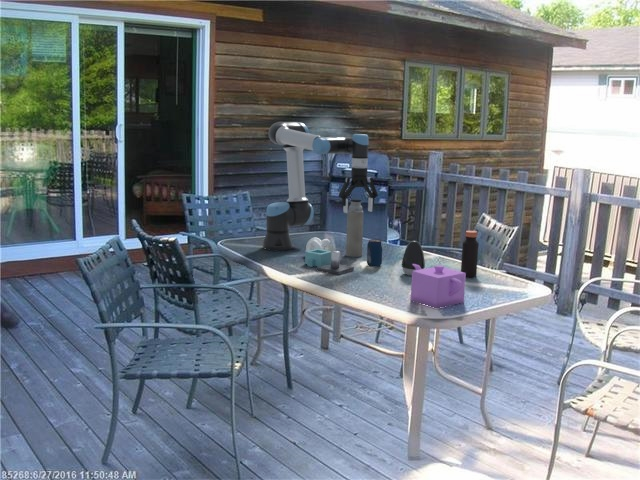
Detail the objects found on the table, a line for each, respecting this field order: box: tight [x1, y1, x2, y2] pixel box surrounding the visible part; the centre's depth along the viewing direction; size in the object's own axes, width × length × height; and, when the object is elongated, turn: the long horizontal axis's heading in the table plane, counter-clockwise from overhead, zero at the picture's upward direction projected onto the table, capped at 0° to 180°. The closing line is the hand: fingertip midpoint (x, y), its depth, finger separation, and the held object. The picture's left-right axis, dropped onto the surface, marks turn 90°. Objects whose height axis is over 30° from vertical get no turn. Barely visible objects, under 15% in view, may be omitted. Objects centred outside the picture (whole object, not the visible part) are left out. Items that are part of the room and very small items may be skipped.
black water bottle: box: [460, 230, 479, 279], centre depth 284 cm, size 7×7×20 cm
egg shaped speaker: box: [401, 240, 426, 277], centre depth 285 cm, size 10×10×15 cm
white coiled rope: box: [305, 236, 331, 252], centre depth 318 cm, size 11×12×9 cm
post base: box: [316, 250, 355, 276], centre depth 290 cm, size 12×12×8 cm
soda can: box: [366, 238, 383, 268], centre depth 301 cm, size 7×7×12 cm
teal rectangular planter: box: [304, 249, 331, 268], centre depth 302 cm, size 14×9×6 cm, turn 143°
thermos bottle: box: [345, 198, 364, 258], centre depth 321 cm, size 8×8×28 cm
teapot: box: [410, 264, 467, 309], centre depth 244 cm, size 15×25×14 cm, turn 38°
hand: (357, 212), depth 309 cm, fingers open, 13 cm apart
